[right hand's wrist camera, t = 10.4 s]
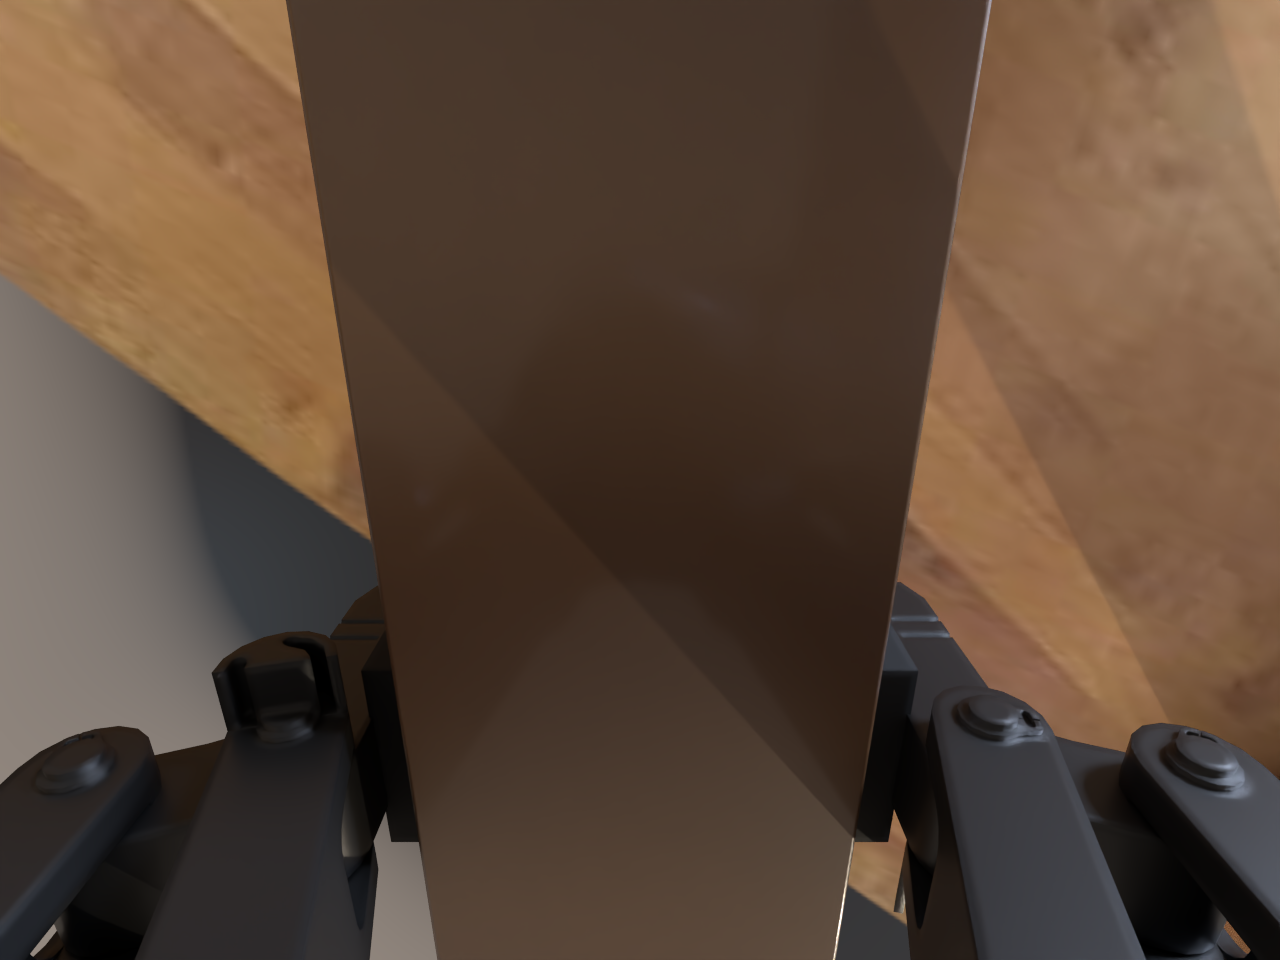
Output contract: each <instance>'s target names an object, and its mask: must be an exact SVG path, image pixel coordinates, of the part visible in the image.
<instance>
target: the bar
mask: <svg viewBox="0 0 1280 960" xmlns="http://www.w3.org/2000/svg"><path fill="white" fill-rule="evenodd" d="M991 2H992V0H286V3H287V10H288V16H289V22H290V29H291V35H292V41H293V48H294V54H295V60H296V67H297V73H298V79H299V86H300V92H301V98H302V105H303V111H304V117H305V124H306V130H307V136H308V143H309V149H310V155H311V162H312V168H313V174H314V181H315V187H316V193H317V200H318V206H319V212H320V219H321V225H322V231H323V238H324V244H325V250H326V257H327V263H328V269H329V276H330V282H331V288H332V295H333V301H334V307H335V314H336V320H337V326H338V333H339V339H340V345H341V352H342V358H343V364H344V371H345V377H346V383H347V390H348V396H349V402H350V409H351V415H352V421H353V428H354V434H355V440H356V447H357V453H358V459H359V466H360V472H361V478H362V485H363V491H364V497H365V504H366V510H367V516H368V523H369V529H370V535H371V542H372V548H373V554H374V561H375V567H376V573H377V580H378V586H379V592H380V599H381V605H382V611H383V618H384V624H385V630H386V637H387V643H388V649H389V656H390V662H391V668H392V675H393V681H394V687H395V694H396V700H397V706H398V713H399V719H400V725H401V732H402V738H403V744H404V751H405V757H406V763H407V770H408V776H409V782H410V789H411V795H412V801H413V808H414V814H415V820H416V827H417V833H418V839H419V846H420V852H421V858H422V865H423V871H424V877H425V884H426V890H427V896H428V903H429V909H430V915H431V922H432V928H433V934H434V941H435V947H436V953H437V960H835V958H836V952H837V946H838V940H839V934H840V928H841V921H842V916H843V909H844V903H845V897H846V891H847V885H848V879H849V873H850V866H851V860H852V854H853V848H854V842H855V836H856V830H857V824H858V817H859V811H860V805H861V799H862V793H863V787H864V781H865V775H866V768H867V762H868V756H869V750H870V744H871V738H872V732H873V726H874V719H875V713H876V707H877V701H878V695H879V689H880V683H881V676H882V670H883V664H884V658H885V652H886V646H887V640H888V634H889V627H890V621H891V615H892V609H893V603H894V597H895V591H896V585H897V578H898V572H899V566H900V560H901V554H902V548H903V542H904V536H905V529H906V523H907V517H908V511H909V505H910V499H911V493H912V486H913V480H914V474H915V468H916V462H917V456H918V450H919V444H920V437H921V431H922V425H923V419H924V413H925V407H926V401H927V395H928V388H929V382H930V376H931V370H932V364H933V358H934V352H935V346H936V339H937V333H938V327H939V321H940V315H941V309H942V303H943V296H944V290H945V284H946V278H947V272H948V266H949V260H950V254H951V247H952V241H953V235H954V229H955V223H956V217H957V211H958V205H959V198H960V192H961V186H962V180H963V174H964V168H965V162H966V156H967V149H968V143H969V137H970V131H971V125H972V119H973V113H974V106H975V100H976V94H977V88H978V82H979V76H980V70H981V64H982V57H983V51H984V45H985V39H986V33H987V27H988V21H989V15H990V8H991Z"/></svg>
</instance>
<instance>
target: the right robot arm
mask: <svg viewBox="0 0 1280 960" xmlns="http://www.w3.org/2000/svg"><path fill="white" fill-rule="evenodd" d="M212 676H213V679H214V683H215V687H216V691H217V694H218V698H219V702H220V705H221V709H222V713H223V716H224V720H225V723H226V727H227V731H228V732H227V734H226V737H225V739H223V740H219V741H216V742H212V743H209V744H205V745H200V746H195V747H191V748H186V749H182V750H177V751H172V752H168V753H163V754H159V755H154V752H153V749H152V746H151V743H150V740H149V737H148V736H146V735H145V734H144V733H143V732H141V731H140V730H139V729H136V728H129V727H122V726H116V727H108V728H100V729H94V730H91V731H87V732H83V733H81V734H77V735H74V736H71V737H69V738H66V739H64V740H62V741H60V742H58V743H56V744H54V745H52V746H51V747H49V748H47V749H45V750H43V751H41V752H39V753H38V754H36V755H35V756H34V757H33V758H31V759H30V760H28V761H27V762H26V763H24V764H23V765H22V766H20V767H19V768H18V769H17V770H15V771H14V772H13V773H12V774H11V775H10V776H9V777H8V778H7V779H6V780H5V781H4V782H3V783H1V784H0V960H369V959H370V949H371V939H372V928H373V918H374V908H375V898H376V888H377V877H378V864H377V858H376V852H375V847H374V842H373V841H374V838H375V836H376V834H377V831H378V829H379V826H380V824H381V822H382V819H383V817H384V814H385V812H386V814H387V820H388V826H389V831H390V837H391V842H419V839H418V833H417V827H416V820H415V814H414V808H413V801H412V795H411V789H410V782H409V776H408V770H407V763H406V757H405V751H404V744H403V738H402V732H401V725H400V719H399V713H398V706H397V700H396V694H395V687H394V681H393V675H392V668H391V662H390V656H389V649H388V643H387V637H386V630H385V624H384V618H383V611H382V605H381V599H380V592H379V586H376V587H375V588H373V589H372V590H370V591H369V592H368V593H366V594H365V595H363V596H362V597H360V598H359V599H357V600H356V601H355V602H354V603H353V605H352V606H351V608H350V609H349V610H348V612H347V613H346V615H345V616H344V617H343V619H342V623H341V624H338V626H337V627H336V629H335V630H334V632H333V633H332V634H331V636H330V638H328V637H327V636H326V635H322V634H318V633H314V632H310V631H302V632H285V633H281V634H276V635H272V636H267V637H263V638H261V639H259V640H256V641H254V642H251V643H249V644H247V645H244V646H242V647H240V648H239V649H237V650H236V651H234V652H233V653H231V654H230V655H228V656H227V657H225V658H224V659H223V660H222V661H221V662H220V663H219V665H218V666H217V667H216V668H215V670H214V671H213V672H212ZM894 810H895V812H896V815H897V817H898V820H899V822H900V824H901V827H902V829H903V831H904V834H905V836H906V839H907V842H906V847H905V852H904V857H903V862H902V868H901V873H900V878H899V883H898V889H897V894H896V900H895V906H894V912H898V913H902V914H903V910H904V905H905V906H906V916H907V927H908V937H909V947H910V957H911V960H1280V780H1278V779H1277V778H1276V777H1275V776H1274V775H1273V774H1272V773H1271V772H1270V771H1269V770H1268V769H1267V768H1265V767H1264V766H1263V765H1262V764H1261V763H1259V762H1258V761H1257V760H1255V759H1254V758H1252V757H1251V756H1250V755H1248V754H1247V753H1246V752H1244V751H1243V750H1242V749H1240V748H1238V747H1236V746H1234V745H1232V744H1230V743H1228V742H1226V741H1224V740H1222V739H1220V738H1218V737H1217V736H1215V735H1212V734H1210V733H1207V732H1204V731H1199V730H1198V729H1194V728H1190V727H1187V726H1181V725H1173V724H1165V723H1158V724H1151V725H1144V726H1141V727H1140V728H1139V729H1138V730H1136V731H1135V732H1134V733H1133V734H1132V735H1131V738H1130V741H1129V744H1128V747H1127V750H1126V752H1121V751H1117V750H1112V749H1107V748H1103V747H1098V746H1093V745H1089V744H1084V743H1079V742H1075V741H1071V740H1067V739H1064V738H1060V737H1057V736H1055V735H1054V733H1053V731H1052V729H1051V728H1050V726H1049V725H1048V723H1047V722H1046V721H1045V719H1044V718H1043V716H1042V715H1041V714H1039V713H1038V712H1037V711H1036V710H1034V709H1033V708H1032V707H1030V706H1029V705H1028V704H1026V703H1025V702H1023V701H1021V700H1019V699H1017V698H1015V697H1013V696H1011V695H1009V694H1007V693H1004V692H1002V691H998V690H994V689H990V688H988V686H987V685H986V684H985V682H984V681H983V680H982V678H981V677H980V675H979V674H978V673H977V671H976V670H975V668H974V667H973V666H972V664H971V663H970V661H969V660H968V659H967V657H966V656H965V654H964V653H963V652H962V650H961V649H960V647H959V646H958V645H957V643H956V642H955V640H954V639H953V638H950V636H949V632H948V631H947V629H946V628H945V626H944V625H943V624H942V622H941V621H938V617H937V615H936V614H935V613H934V611H933V610H932V608H931V607H930V606H929V604H928V603H927V601H926V600H925V599H924V598H923V597H921V596H920V595H918V594H917V593H916V592H914V591H913V590H911V589H910V588H908V587H907V586H905V585H904V584H902V583H901V582H897V585H896V591H895V597H894V603H893V609H892V615H891V621H890V627H889V634H888V640H887V646H886V652H885V658H884V664H883V670H882V676H881V683H880V689H879V695H878V701H877V707H876V713H875V719H874V726H873V732H872V738H871V744H870V750H869V756H868V762H867V768H866V775H865V781H864V787H863V793H862V799H861V805H860V811H859V817H858V824H857V830H856V836H855V842H888V840H889V834H890V828H891V823H892V817H893V811H894ZM1226 921H1228V922H1229V923H1230V925H1231V926H1232V927H1233V928H1234V930H1235V931H1236V932H1237V933H1238V935H1239V936H1240V937H1241V938H1242V940H1243V941H1244V942H1245V943H1246V945H1247V946H1248V947H1249V948H1250V950H1251V951H1250V952H1249V953H1248V954H1246V953H1245V952H1244V951H1243V950H1242V949H1241V948H1240V947H1239V946H1238V945H1237V944H1236V943H1235V942H1234V941H1233V939H1232V938H1231V937H1230V936H1229V934H1228V933H1227V932H1226V930H1225V929H1224V925H1225V923H1226ZM53 924H54V925H55V927H56V929H57V931H56V933H55V934H54V935H53V936H52V938H51V939H50V940H49V942H48V943H47V944H46V945H45V946H44V947H43V948H42V949H41V950H40V951H39V952H38V953H37V954H36V955H35V956H34V957H33V956H31V955H30V953H31V952H32V950H33V949H34V948H35V947H36V945H37V944H38V943H39V942H40V940H41V939H42V938H43V937H44V935H45V934H46V933H47V932H48V930H49V929H50V928H51V927H52V925H53Z"/></svg>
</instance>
